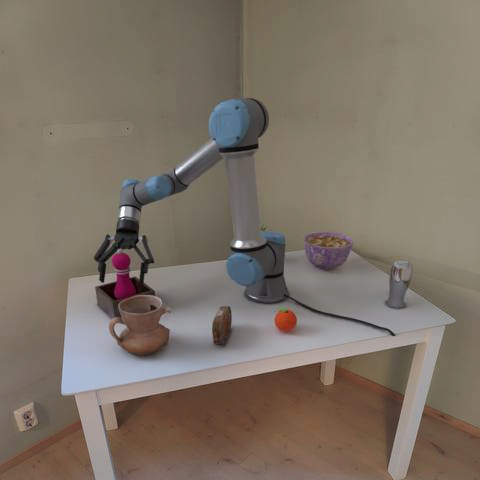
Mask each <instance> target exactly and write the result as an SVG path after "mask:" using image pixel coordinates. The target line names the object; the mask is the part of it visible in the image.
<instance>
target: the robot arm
mask: <svg viewBox="0 0 480 480" xmlns="http://www.w3.org/2000/svg"><path fill="white" fill-rule="evenodd" d="M269 124H270V114H269V111H268V109H267V107H266V105H265V104H264V103H263V102H262V101H261V100H259V99H257V98H254V97H245V98H236V99H235V98H234V99H233V98H231V99H228V100H224V101H222V102H220V103H218V104H217V105H216V106H215V107H214V108H213V110H212V111H211V113H210V116H209V119H208V132H209V135H210V137H211V138H209V139H208V140H206V141H205V142H204V143H203V144H201V145H200V146H199V147H198V148H197V149H195V150H194V151H193V152H192V153H191V154H190V155H187V157H186V158H184V159H183V160H182V161H181V162H180V163H178V165H176V166H175V167H174V168H172V169H171V170H170V171H169V172H166V173H163V174H158V175H154V176H151V177H149V178H147V179H145V180H142V181H140V180H138V179H135V178H131V179H130V178H128V179H125V180H124V181H123V182H122V184H121V189H120V198H119V206H118V211H117V212H118V213H117V218H116V219H117V222H116V228H115V235H110V234H106V235H105V238H104V241H103V242H102V244H101V245H100V247H99V248H98V250H97V251H96V253H95V254H94V256H93V260H94V261H95V262H96V263H98V264H97V271H98V272H99V277H98V280H99V281H100V283H102V284H105V279H106V270H107V263H106V262H107V261H108V260H109V259H110V258H111V257H113V256H114V255H115V254H116V253H117V250H118V249H121V250H130V251H131V250H132V249H133V250H134V251H135V253H136V254H137V255H138V256H139V258H140V259H141V263H140V270H139V272H140V273H139V278H138V279H139V281H140V283H141V284H144V283H145V275H147V274H148V272H149V265H151V264H152V265H153V264H155V259H154V257H153V255H152V252H151V250H150V249H151V248H150V247H149V245H148V240H149V239H148V238H147V235H146V234H143V235H142V236H139V235H140V224H141V216H142V208H143V207H144V206H148V205H149V204H152V203H155V202H158V201H161V200H164V199H166V198H169V197H170V196H173V195H177V194H180V193H183V192H184V191H186V190H187V189H188V188H190V185H191V184H192V183H193V182H195V181H196V180H197V179H199V178H200V177H201V176H203V175H204V174H205V173H207V172H209V170H211V169H212V168H214V167H215V166H217V164H219V163H220V162H222V161H223V160H224V161H225V162H224V163H225V169H226V179H227V187H228V195H229V206H230V213H231V222H232V230H233V239H232V240H231V241H230V243H229V246H230V256H229V257H228V258H227V261H226V264H225V265H226V272H227V274H228V276H229V277H230V279H231V280H233V281H234V282H235V284H237V285H240V286H242V287H245V297H247V299H249V300H251V301H252V302H256V303H261V304H274V303H279V302H282V301H284V300H286V298H288V299H289V300H290V301H293V302H294V303H297V304H298V305H300V306H302V307H304V308H305V309H307V310H310V311H313V312H316V313H319V314H321V315H325V316H331V317H335V318H340V319H344V320H345V319H346V320H350V321H354V322H358V323H361V324H364V325H368V326H371V327H374V328H376V329H379V330H383V331H387V332H388V333H389V334H390V335H391V336H392V337H396V335H395V333H394V332H393V331H392V330H391V329H389V328H387V327H384V326H379V325H377V324H374V323H372V322H369V321H365V320H361V319H357V318H355V317H349V316H344V315H340V314H335V313H331V312H330V313H329V312H325V311H322V310H318V309H316V308H312V307H311V306H309V305H306V304H304V303H303V302H300V301H299V300H296V299H295V298H293V297H291V296H290V295H288V294H289V293H288V291H289V289H288V286H287V282H286V278H285V276H284V273H285V257H286V245H287V244H286V236H285V235H284V234H283V233H281V232H277V231H270V230H265V231H261V227H262V226H261V218H260V217H261V215H260V205H259V194H258V183H257V171H256V160H255V156H256V153H258V151H259V149H260V146H259V139H260V138H261V137H263V136H264V135H265V133H266V131H267V130H268V127H269ZM139 242H140V243H141V244H142V245H143V248H144V251H145V252H146V255H147V258H146V256H145V255H144V254H143V252H142V251H141V250H140V249H139V247H138V243H139ZM111 244H112V245H111Z"/></svg>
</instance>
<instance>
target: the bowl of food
mask: <svg viewBox="0 0 480 480" xmlns="http://www.w3.org/2000/svg"><path fill="white" fill-rule="evenodd" d="M303 244H304V251H305V257H306V259H307V261H308V262H309V264H311V265H312V266H314V267H316V268H317V269H320V270H323V271H332V270H334V269H337V268H339V267H343V266H344V264H345V263H346V262H347V260H348V258H349V256H350V253H351V251H352V248H353V245H354V239H353V238H352V237H350V236H348V235H347V234H343V233H339V232H331V231H317V232H311V233H308V234H306V235H304V237H303Z"/></svg>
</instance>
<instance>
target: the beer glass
mask: <svg viewBox="0 0 480 480" xmlns="http://www.w3.org/2000/svg"><path fill="white" fill-rule="evenodd" d="M413 268H414V264H413V263H411V262H410V261H405V260H394V261H393V262H392V265H391V268H390V272H389V278H388V285H389V287H388V289H389V291H388V298H387V299H386V301H385V305H386V306H388V307H389V308H392V309H402V308H404V307H405V300H406V299H405V298H406V294H407V291H408V289H409V286H410V284H411V281H412V277H413Z"/></svg>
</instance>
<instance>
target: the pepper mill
mask: <svg viewBox="0 0 480 480" xmlns="http://www.w3.org/2000/svg"><path fill="white" fill-rule="evenodd" d="M131 263H132V261H131V258H130V256H129V254H128V253H125V252H124V251H123V249H121V248H120V249H118V250H117V251H116V253H114V254H113V255H112V258H111V265H112V266H113V267H114V273H115V274H116V281H117V283H116V286H115V290H114V295H115V297H116V298H117V299H118V300H119V299H123V298H126V297H130V296H133V295H136V289H135V287H134V285H133V283H132V282H131V279H130V278H131V276H130V273H131V266H130V265H131Z"/></svg>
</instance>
